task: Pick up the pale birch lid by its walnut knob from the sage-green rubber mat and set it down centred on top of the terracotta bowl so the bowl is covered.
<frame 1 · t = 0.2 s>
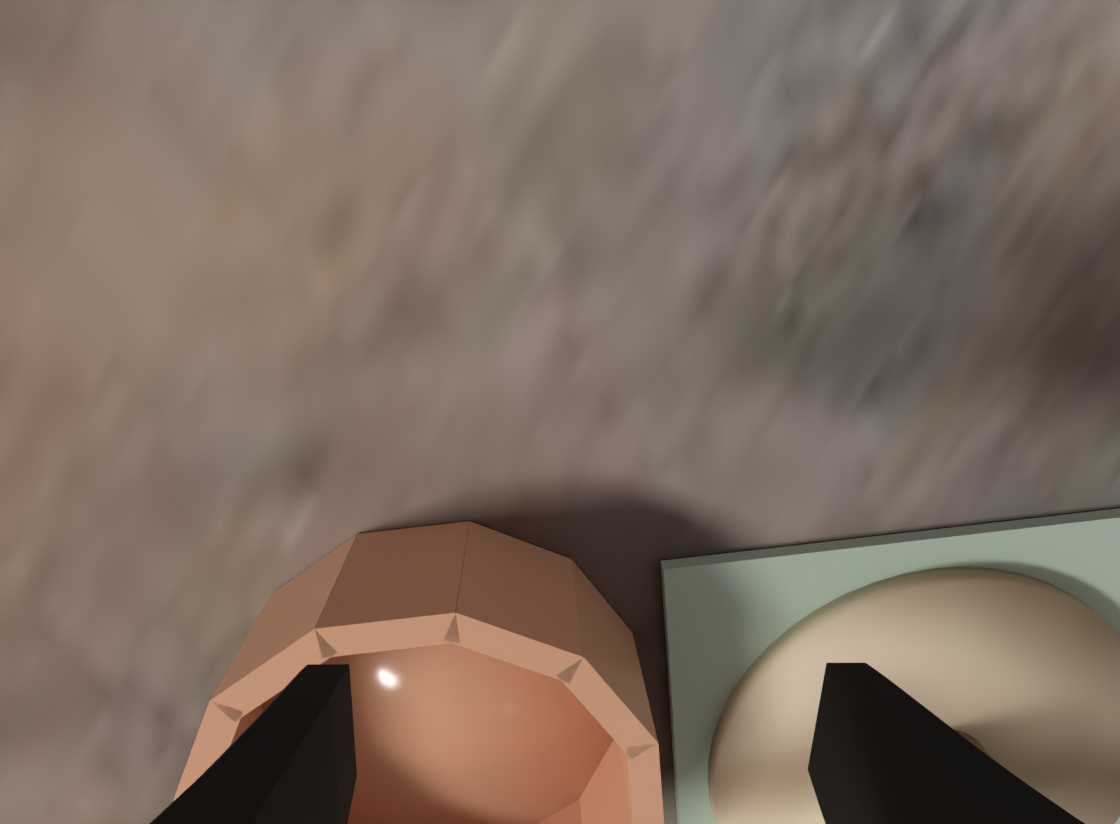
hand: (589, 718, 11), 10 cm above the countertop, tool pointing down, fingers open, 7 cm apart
mat: (912, 743, 24), on the countertop
bowl: (445, 698, 23), on the countertop
lid: (919, 754, 24), resting on mat
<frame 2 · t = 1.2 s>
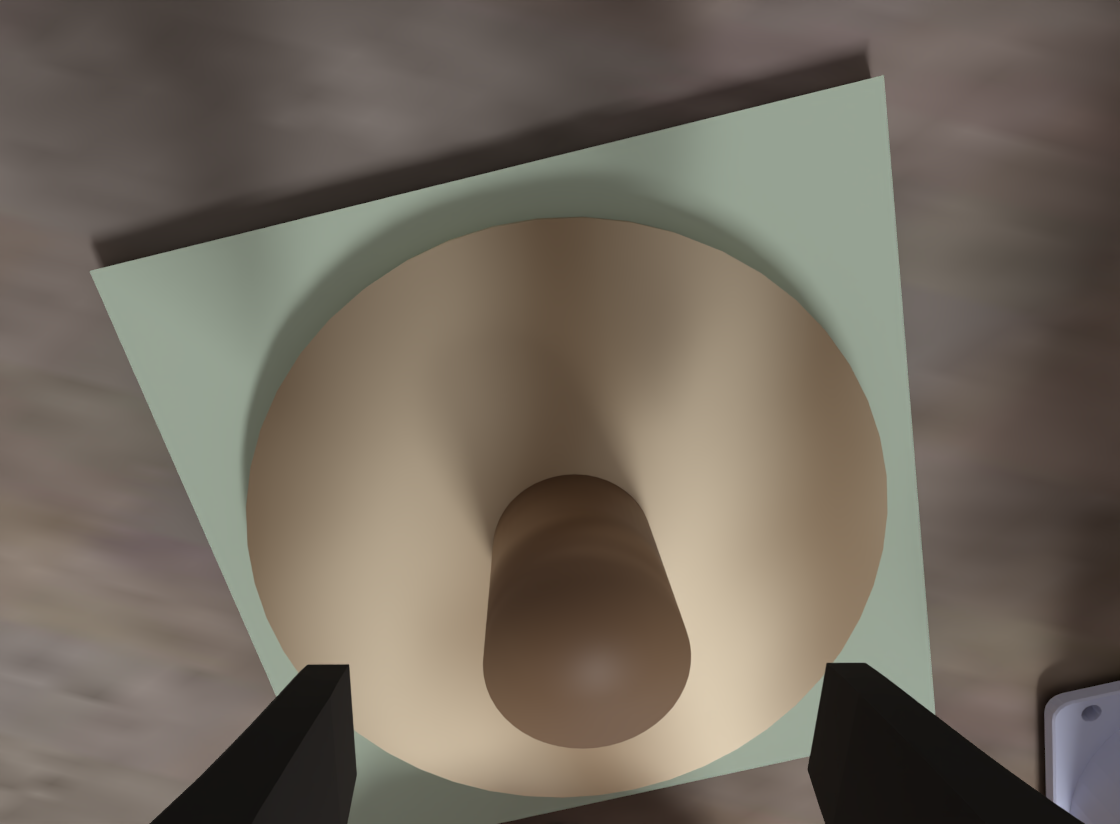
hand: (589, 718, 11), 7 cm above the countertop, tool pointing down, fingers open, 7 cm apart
mat: (569, 520, 17), on the countertop
lid: (570, 530, 17), resting on mat
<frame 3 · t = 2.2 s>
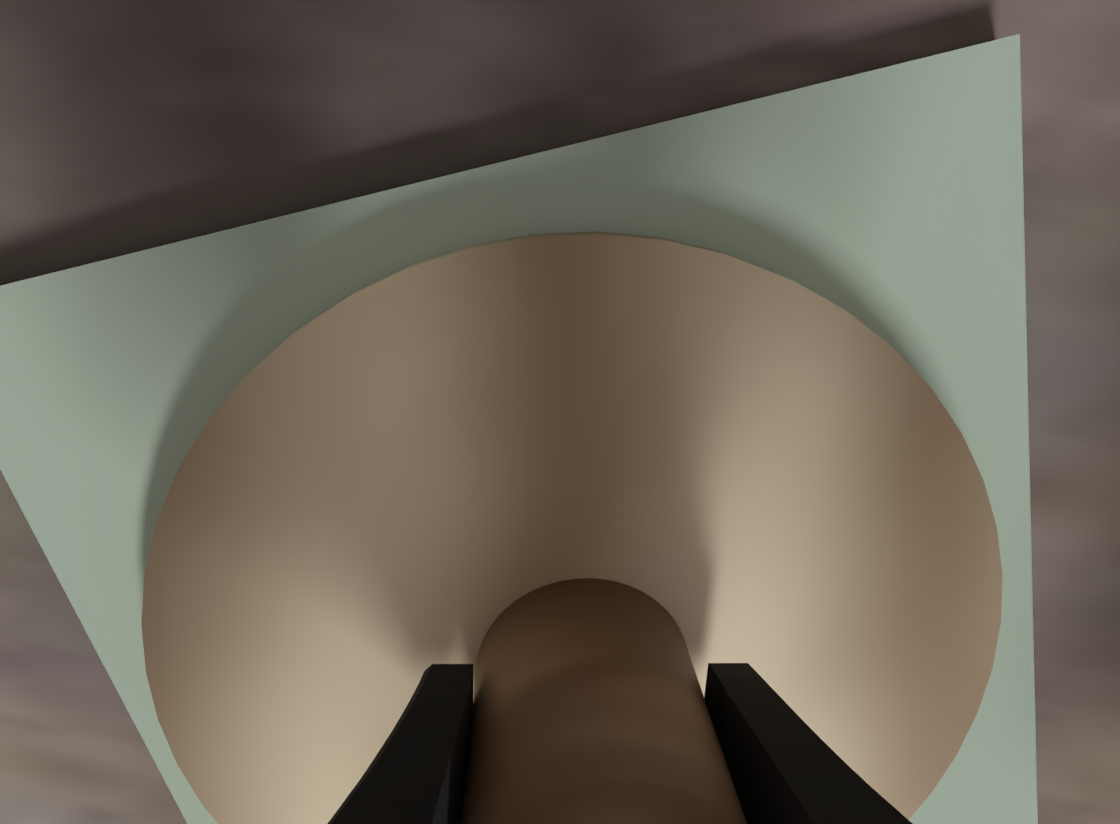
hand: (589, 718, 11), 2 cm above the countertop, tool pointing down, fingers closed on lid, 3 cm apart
mat: (577, 623, 13), on the countertop
lid: (579, 641, 13), point 1 cm above the countertop, touching gripper, mat
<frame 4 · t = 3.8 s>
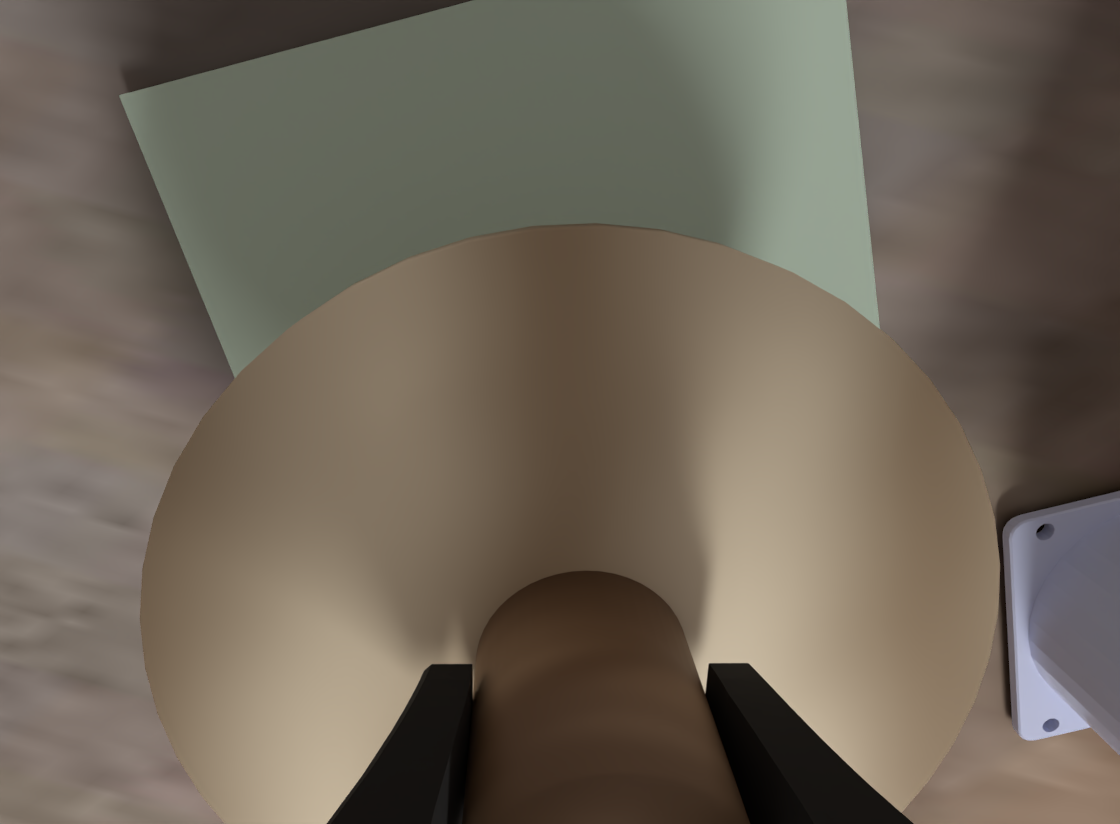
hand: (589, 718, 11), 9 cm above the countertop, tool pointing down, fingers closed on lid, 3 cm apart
mat: (559, 346, 19), on the countertop
lid: (578, 633, 13), point 7 cm above the countertop, touching gripper
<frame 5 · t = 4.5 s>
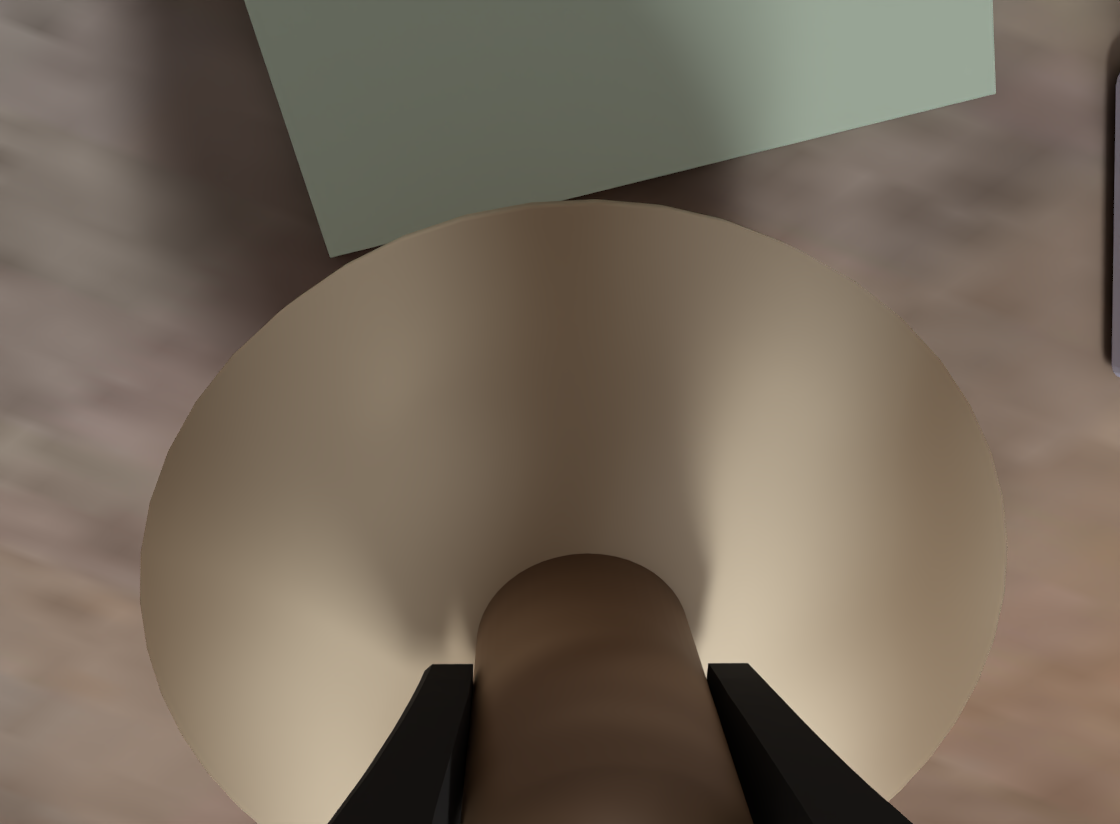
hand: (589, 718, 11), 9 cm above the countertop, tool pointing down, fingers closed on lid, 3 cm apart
lid: (579, 613, 13), point 7 cm above the countertop, touching gripper
when the fingers open (8 cm above the countertop, at t = 5.2 s): lid drops 1 cm, resting on bowl.
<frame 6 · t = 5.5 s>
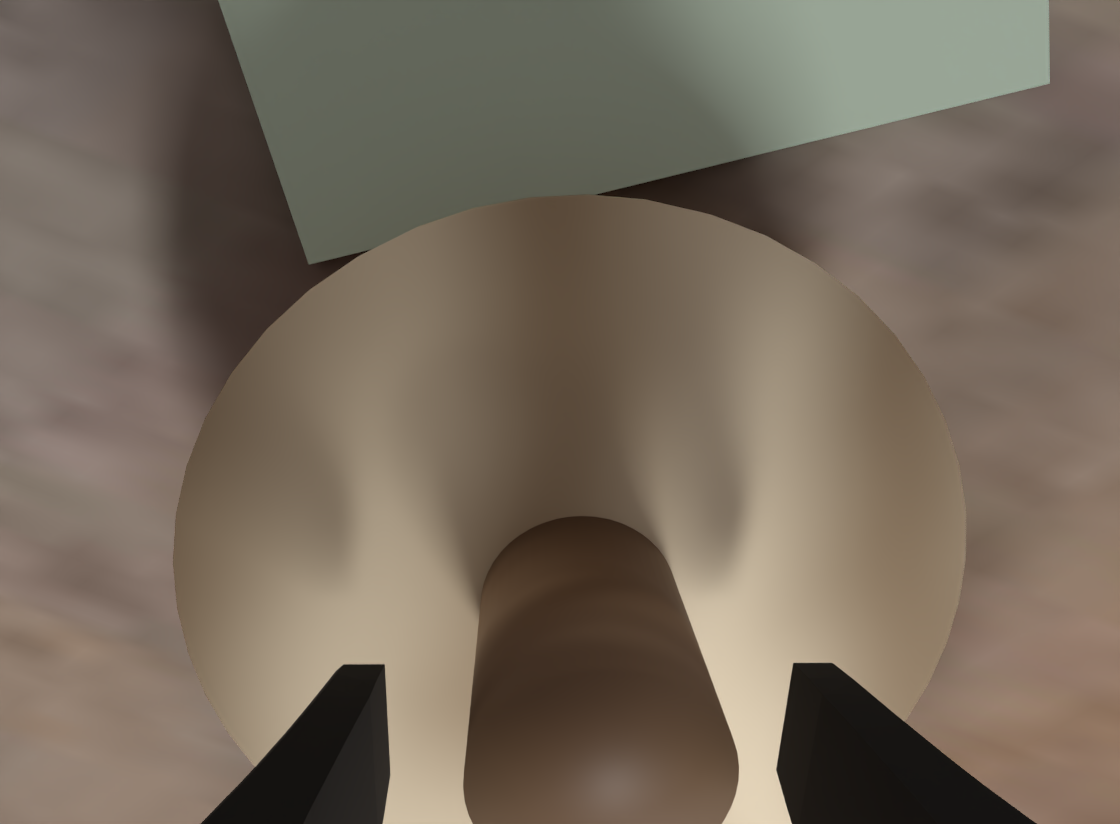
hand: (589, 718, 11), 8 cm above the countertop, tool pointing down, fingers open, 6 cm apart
lid: (576, 580, 14), point 4 cm above the countertop, touching bowl
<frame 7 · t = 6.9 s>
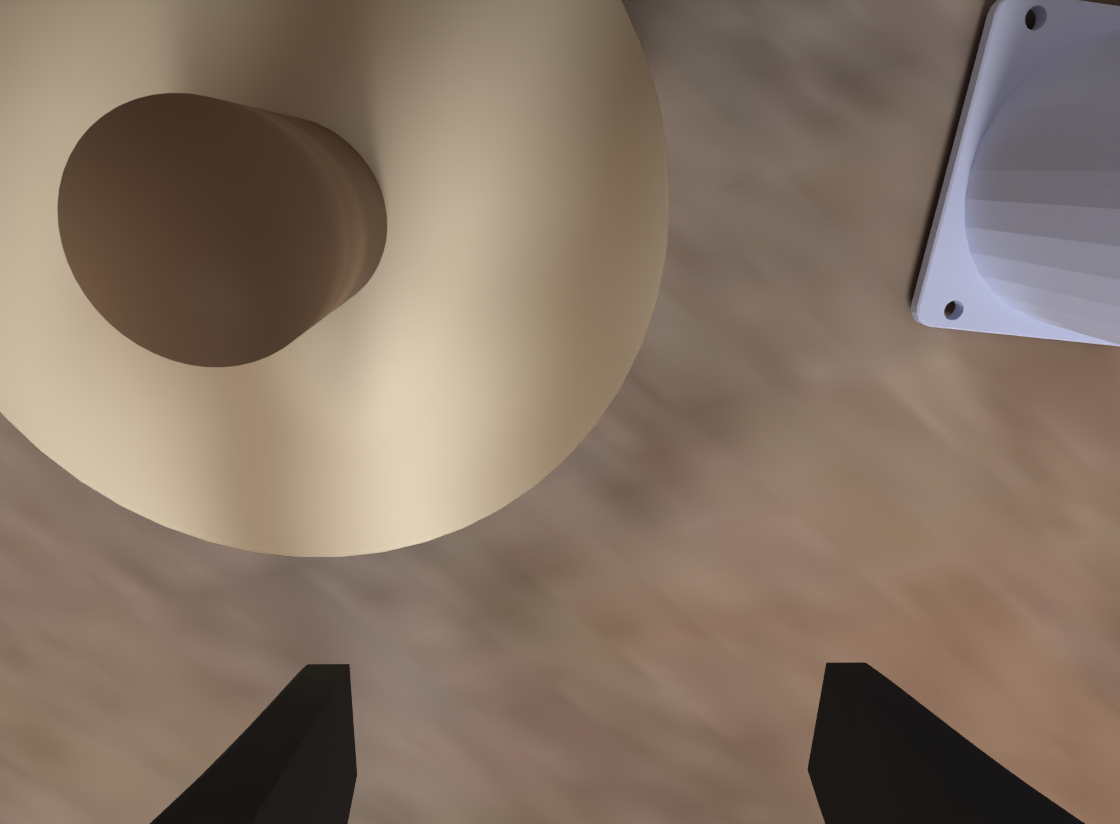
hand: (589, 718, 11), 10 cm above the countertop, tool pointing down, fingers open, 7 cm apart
lid: (302, 216, 14), point 4 cm above the countertop, touching bowl
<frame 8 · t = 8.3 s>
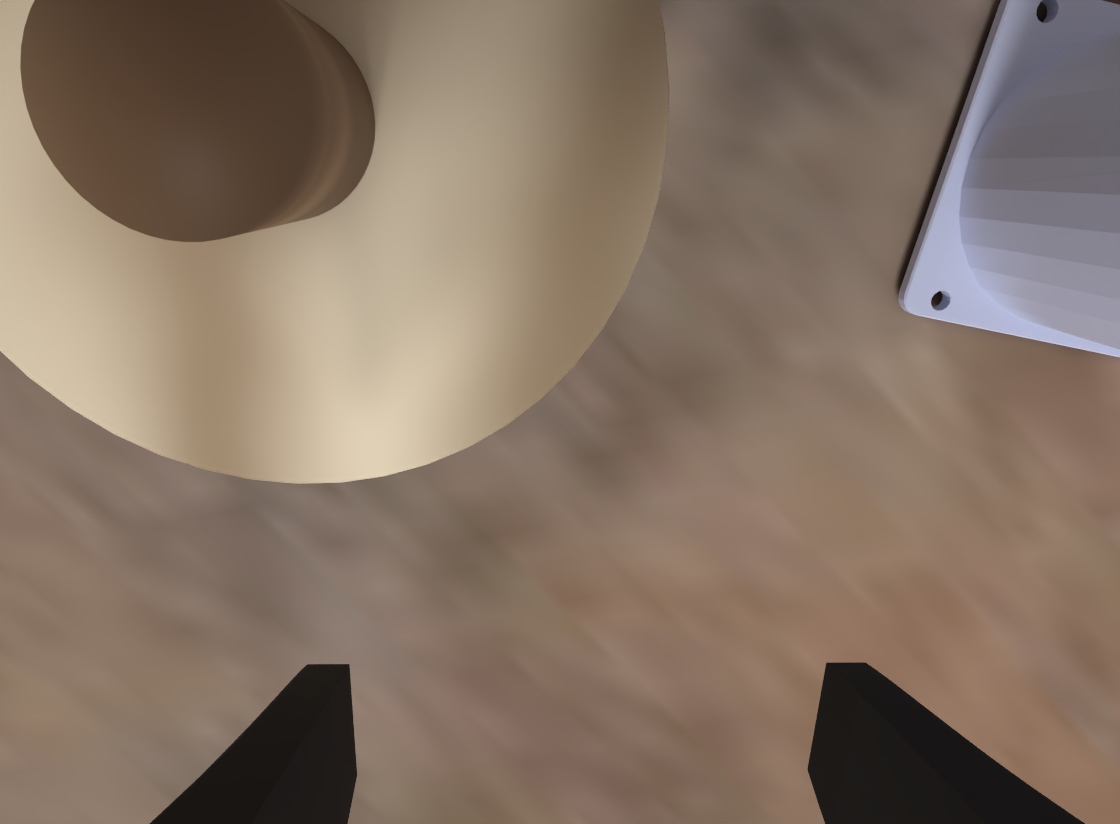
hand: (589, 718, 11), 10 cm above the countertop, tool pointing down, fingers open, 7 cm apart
lid: (288, 121, 14), point 4 cm above the countertop, touching bowl
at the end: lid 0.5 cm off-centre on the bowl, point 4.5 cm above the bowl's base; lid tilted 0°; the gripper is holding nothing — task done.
